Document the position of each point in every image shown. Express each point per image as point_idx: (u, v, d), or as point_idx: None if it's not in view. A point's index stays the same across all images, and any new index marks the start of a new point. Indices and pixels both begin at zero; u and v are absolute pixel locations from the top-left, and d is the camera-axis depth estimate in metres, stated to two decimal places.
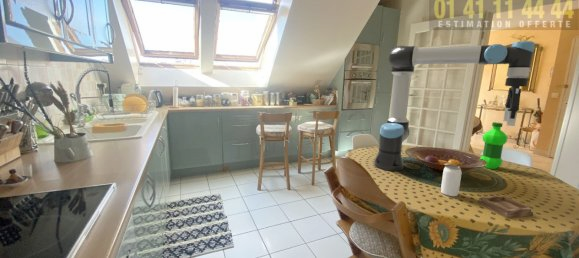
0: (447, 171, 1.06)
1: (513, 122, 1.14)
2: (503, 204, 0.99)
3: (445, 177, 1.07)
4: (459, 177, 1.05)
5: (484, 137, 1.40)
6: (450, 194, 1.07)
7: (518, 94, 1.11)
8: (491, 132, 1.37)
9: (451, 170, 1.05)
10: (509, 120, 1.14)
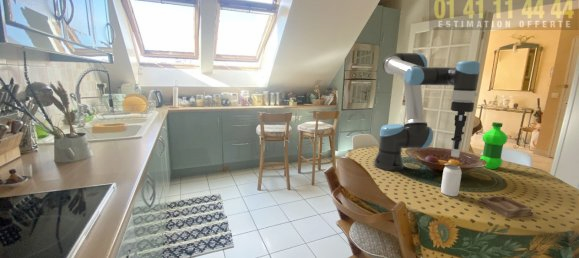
0: (447, 171, 1.06)
1: (457, 153, 0.99)
2: (503, 204, 0.99)
3: (445, 177, 1.07)
4: (459, 177, 1.05)
5: (484, 137, 1.40)
6: (450, 194, 1.07)
7: (461, 121, 0.97)
8: (491, 132, 1.37)
9: (451, 170, 1.05)
10: (453, 150, 1.00)
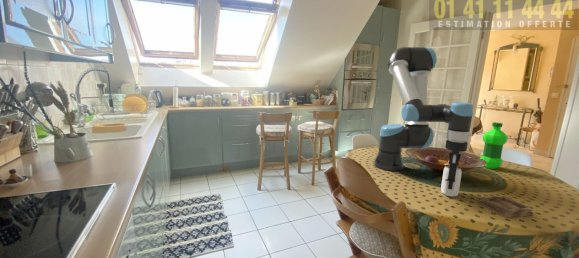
0: (447, 171, 1.06)
1: (451, 192, 1.06)
2: (503, 204, 0.99)
3: (445, 177, 1.07)
4: (459, 177, 1.05)
5: (484, 137, 1.39)
6: None
7: (455, 164, 1.01)
8: (491, 132, 1.37)
9: None
10: (447, 190, 1.06)
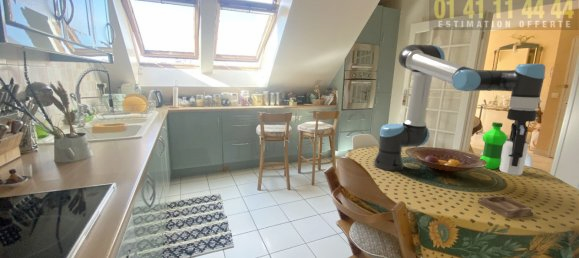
0: (510, 145, 0.91)
1: (515, 170, 0.90)
2: (503, 204, 0.99)
3: (507, 152, 0.92)
4: (525, 152, 0.90)
5: (484, 137, 1.39)
6: None
7: (523, 136, 0.86)
8: (491, 132, 1.37)
9: None
10: (511, 168, 0.91)
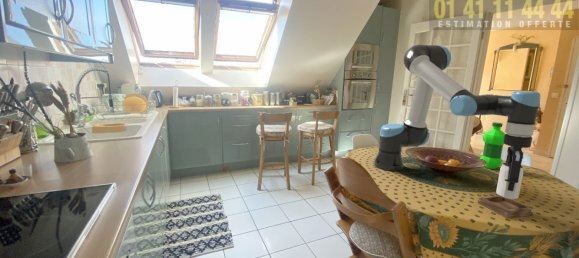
0: (506, 170, 0.93)
1: (511, 195, 0.92)
2: (503, 204, 0.99)
3: (504, 177, 0.94)
4: (521, 177, 0.92)
5: (484, 137, 1.39)
6: None
7: (519, 162, 0.88)
8: (491, 132, 1.37)
9: None
10: (507, 192, 0.93)
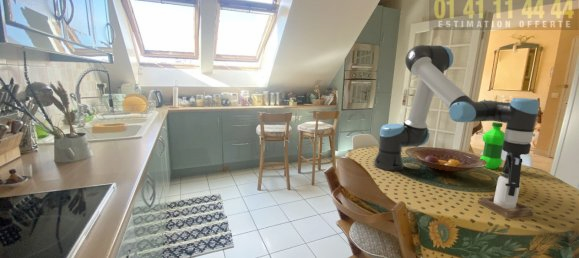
0: (504, 181, 0.94)
1: (512, 200, 0.90)
2: None
3: (501, 188, 0.95)
4: (518, 188, 0.93)
5: (484, 137, 1.40)
6: (507, 207, 0.94)
7: (518, 166, 0.87)
8: (491, 132, 1.37)
9: None
10: (507, 197, 0.90)
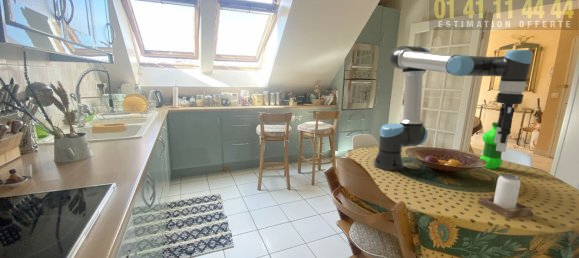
0: (504, 181, 0.94)
1: (504, 147, 0.94)
2: None
3: (501, 188, 0.95)
4: (518, 188, 0.93)
5: (484, 137, 1.39)
6: (507, 207, 0.94)
7: (510, 114, 0.92)
8: (491, 132, 1.37)
9: (509, 180, 0.93)
10: (499, 145, 0.95)
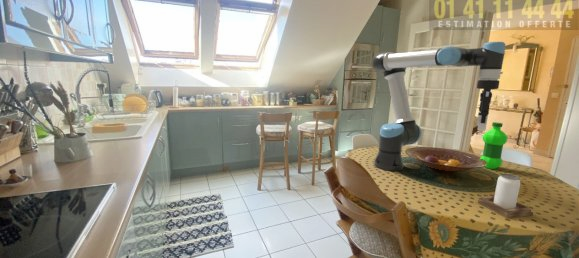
0: (504, 181, 0.94)
1: (484, 127, 1.08)
2: None
3: (501, 188, 0.95)
4: (518, 188, 0.93)
5: (484, 137, 1.40)
6: (507, 207, 0.94)
7: (488, 97, 1.05)
8: (491, 132, 1.37)
9: (508, 180, 0.93)
10: (480, 125, 1.08)
